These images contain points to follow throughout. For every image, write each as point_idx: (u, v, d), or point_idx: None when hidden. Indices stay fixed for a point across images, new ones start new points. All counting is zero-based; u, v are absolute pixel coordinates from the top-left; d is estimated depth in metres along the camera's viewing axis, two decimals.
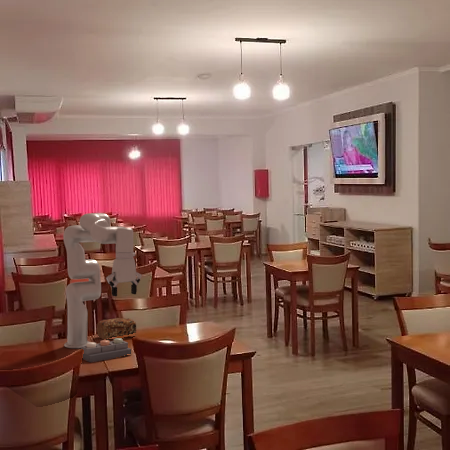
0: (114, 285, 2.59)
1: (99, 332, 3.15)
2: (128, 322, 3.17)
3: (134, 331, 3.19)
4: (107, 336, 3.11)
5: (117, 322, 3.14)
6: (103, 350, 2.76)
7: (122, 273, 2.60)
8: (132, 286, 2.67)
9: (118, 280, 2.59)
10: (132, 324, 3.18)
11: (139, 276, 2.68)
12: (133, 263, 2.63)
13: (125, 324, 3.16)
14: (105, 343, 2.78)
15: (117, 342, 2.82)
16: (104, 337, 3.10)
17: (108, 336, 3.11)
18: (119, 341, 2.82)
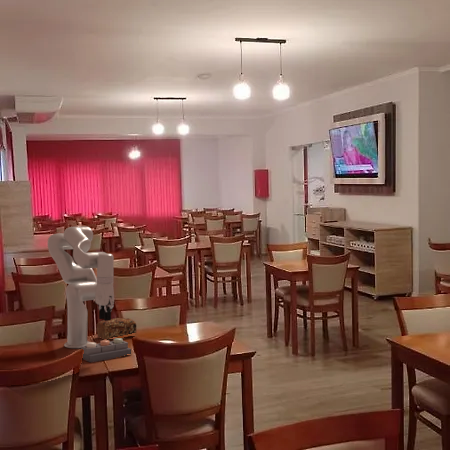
0: None
1: (99, 332, 3.15)
2: (128, 322, 3.18)
3: (134, 331, 3.20)
4: (108, 336, 3.11)
5: (118, 322, 3.14)
6: (103, 350, 2.76)
7: None
8: (102, 311, 2.80)
9: None
10: (132, 324, 3.19)
11: None
12: None
13: (126, 324, 3.16)
14: (105, 343, 2.78)
15: (117, 342, 2.82)
16: (105, 337, 3.10)
17: (109, 336, 3.11)
18: (119, 341, 2.82)
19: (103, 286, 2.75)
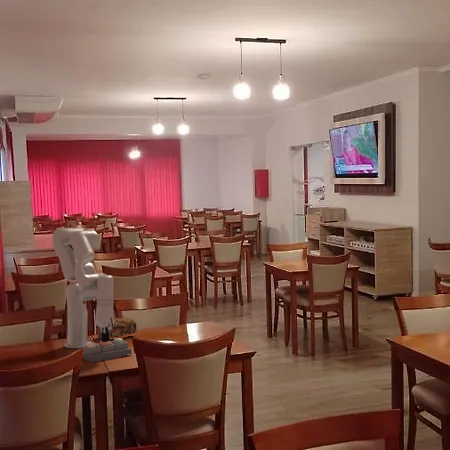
0: (109, 331, 2.79)
1: (100, 333, 3.14)
2: (129, 322, 3.18)
3: (134, 330, 3.20)
4: (110, 336, 3.11)
5: (119, 322, 3.15)
6: (103, 350, 2.76)
7: None
8: None
9: None
10: (133, 323, 3.19)
11: None
12: None
13: (126, 324, 3.17)
14: (105, 343, 2.78)
15: (117, 342, 2.82)
16: None
17: (111, 336, 3.11)
18: (119, 341, 2.82)
19: (103, 308, 2.75)
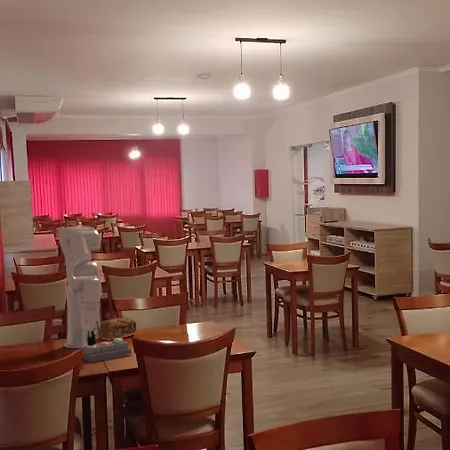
0: None
1: (101, 333, 3.13)
2: (129, 321, 3.19)
3: (134, 330, 3.22)
4: (112, 336, 3.11)
5: (120, 322, 3.15)
6: (103, 350, 2.76)
7: None
8: None
9: None
10: (133, 323, 3.21)
11: None
12: None
13: (127, 323, 3.18)
14: (105, 345, 2.78)
15: (117, 342, 2.82)
16: (110, 337, 3.09)
17: (113, 336, 3.11)
18: (119, 341, 2.82)
19: (89, 312, 2.70)
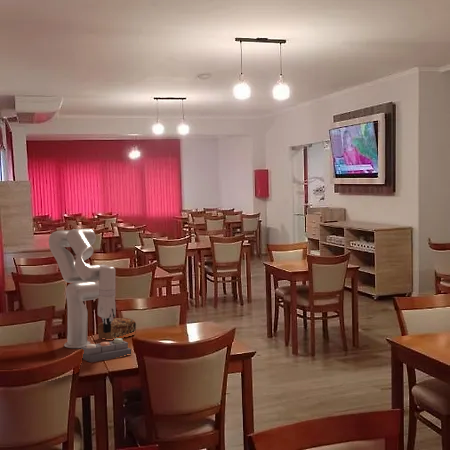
0: (110, 322, 2.79)
1: (102, 333, 3.12)
2: (129, 321, 3.20)
3: (134, 329, 3.22)
4: (113, 336, 3.10)
5: (121, 322, 3.15)
6: (103, 350, 2.76)
7: None
8: None
9: None
10: (133, 323, 3.21)
11: None
12: None
13: (127, 323, 3.18)
14: (105, 345, 2.78)
15: (117, 342, 2.82)
16: (111, 338, 3.09)
17: (114, 336, 3.11)
18: (119, 341, 2.82)
19: (105, 299, 2.75)
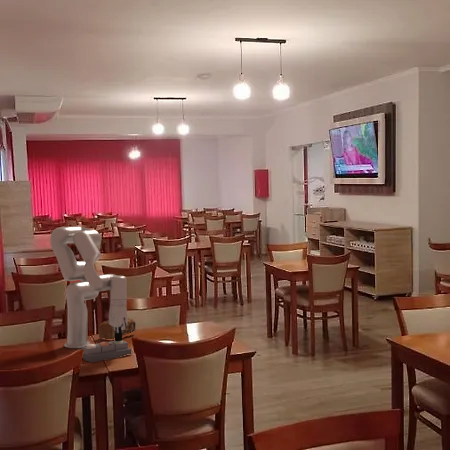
0: None
1: (103, 333, 3.12)
2: (129, 321, 3.20)
3: (134, 329, 3.23)
4: None
5: None
6: (103, 350, 2.76)
7: None
8: None
9: None
10: (133, 322, 3.22)
11: None
12: None
13: (128, 323, 3.19)
14: (105, 345, 2.78)
15: None
16: (113, 338, 3.09)
17: None
18: None
19: (117, 308, 2.79)
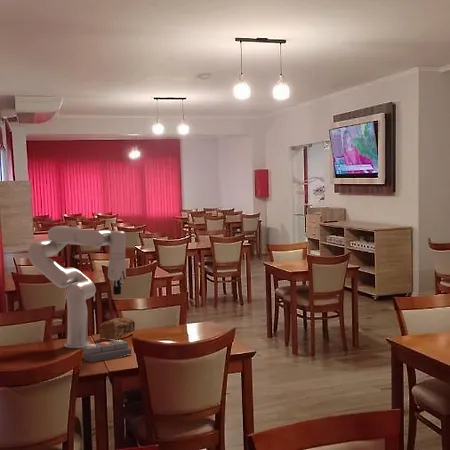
0: None
1: (105, 334, 3.11)
2: (129, 321, 3.21)
3: (133, 329, 3.24)
4: (117, 336, 3.11)
5: (122, 321, 3.16)
6: (103, 350, 2.76)
7: None
8: None
9: None
10: (132, 322, 3.23)
11: None
12: None
13: (128, 323, 3.19)
14: (105, 345, 2.78)
15: None
16: (115, 338, 3.09)
17: (117, 336, 3.11)
18: None
19: (115, 262, 2.87)
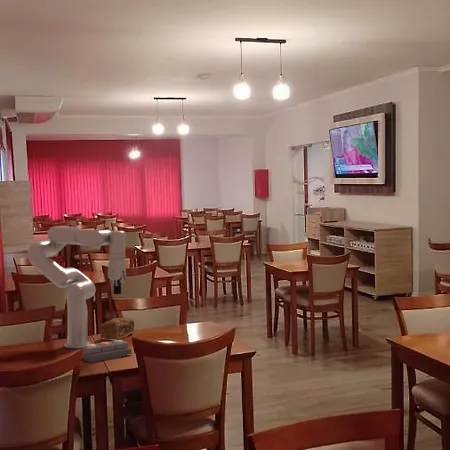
0: None
1: (106, 334, 3.11)
2: (129, 320, 3.22)
3: (133, 329, 3.25)
4: (118, 336, 3.11)
5: (123, 321, 3.16)
6: (103, 350, 2.76)
7: None
8: None
9: None
10: (132, 322, 3.23)
11: None
12: None
13: (128, 323, 3.20)
14: (105, 345, 2.78)
15: None
16: (116, 338, 3.09)
17: (119, 336, 3.11)
18: None
19: (116, 262, 2.87)
